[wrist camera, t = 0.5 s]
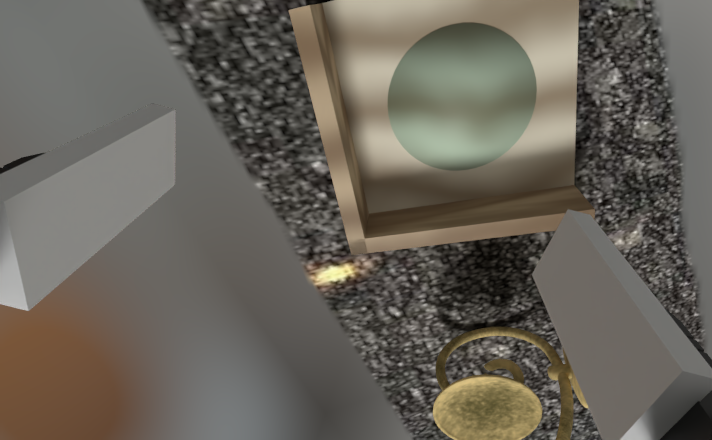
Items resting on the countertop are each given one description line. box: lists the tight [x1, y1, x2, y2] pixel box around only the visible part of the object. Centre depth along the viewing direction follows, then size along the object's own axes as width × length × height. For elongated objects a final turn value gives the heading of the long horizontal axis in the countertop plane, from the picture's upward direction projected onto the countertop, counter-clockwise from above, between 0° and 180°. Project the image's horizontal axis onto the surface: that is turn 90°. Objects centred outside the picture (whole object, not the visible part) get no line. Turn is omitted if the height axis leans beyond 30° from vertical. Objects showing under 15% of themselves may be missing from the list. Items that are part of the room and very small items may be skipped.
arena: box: [289, 0, 595, 255], centre depth 34 cm, size 20×20×6 cm
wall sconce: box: [433, 327, 589, 440], centre depth 36 cm, size 14×10×25 cm
